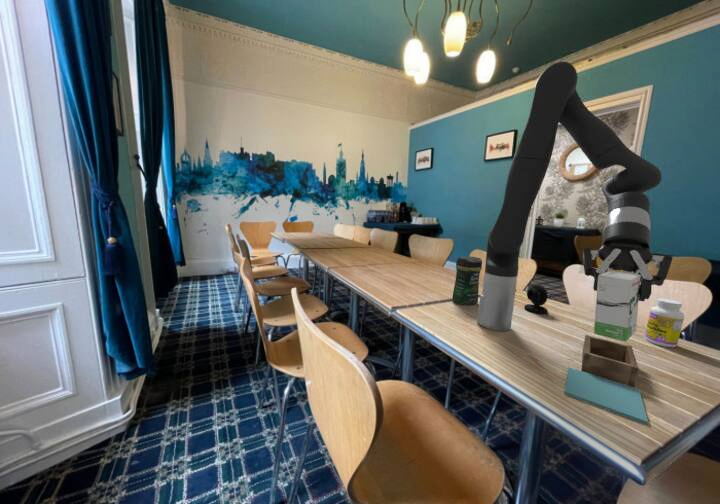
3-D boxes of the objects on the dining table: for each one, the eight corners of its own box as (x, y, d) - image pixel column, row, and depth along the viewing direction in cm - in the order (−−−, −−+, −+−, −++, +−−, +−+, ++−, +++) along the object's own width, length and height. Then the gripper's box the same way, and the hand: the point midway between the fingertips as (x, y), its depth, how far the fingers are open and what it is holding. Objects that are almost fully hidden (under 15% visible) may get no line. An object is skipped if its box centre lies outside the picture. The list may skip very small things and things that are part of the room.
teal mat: (564, 394, 57) (564, 391, 57) (568, 369, 66) (568, 367, 66) (647, 424, 49) (648, 421, 49) (638, 391, 58) (639, 389, 58)
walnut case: (581, 370, 65) (584, 353, 65) (582, 350, 75) (585, 334, 75) (634, 387, 60) (638, 368, 59) (628, 362, 70) (631, 346, 69)
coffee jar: (463, 306, 106) (468, 259, 103) (448, 300, 113) (452, 255, 110) (481, 304, 110) (486, 258, 107) (466, 297, 117) (471, 254, 114)
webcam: (519, 306, 108) (522, 282, 107) (537, 306, 109) (540, 282, 107) (533, 314, 101) (537, 288, 99) (552, 314, 101) (556, 288, 100)
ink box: (626, 342, 51) (632, 279, 49) (592, 334, 55) (596, 275, 53) (637, 330, 56) (642, 273, 54) (605, 323, 60) (609, 269, 58)
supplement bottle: (637, 337, 85) (646, 297, 83) (657, 337, 85) (666, 297, 83) (663, 348, 78) (673, 304, 76) (684, 348, 79) (694, 305, 77)
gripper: (586, 218, 64) (576, 278, 57) (679, 222, 55) (680, 293, 48) (583, 239, 69) (573, 297, 62) (668, 246, 60) (668, 314, 53)
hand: (620, 295), depth 55 cm, fingers closed on ink box, 5 cm apart
